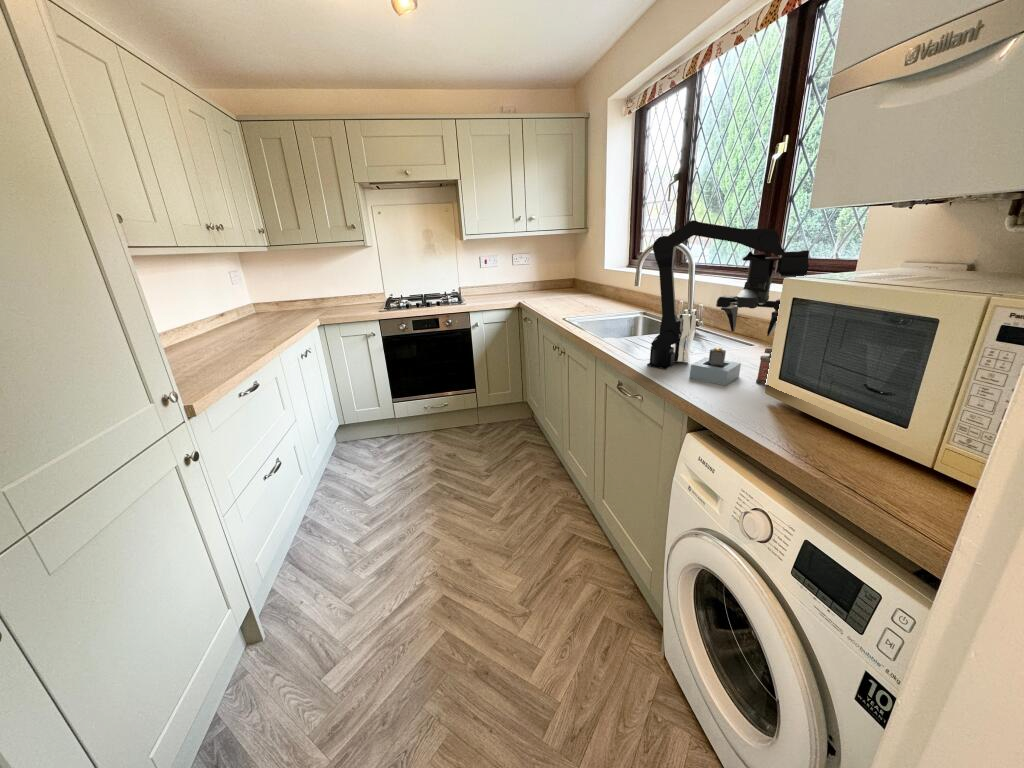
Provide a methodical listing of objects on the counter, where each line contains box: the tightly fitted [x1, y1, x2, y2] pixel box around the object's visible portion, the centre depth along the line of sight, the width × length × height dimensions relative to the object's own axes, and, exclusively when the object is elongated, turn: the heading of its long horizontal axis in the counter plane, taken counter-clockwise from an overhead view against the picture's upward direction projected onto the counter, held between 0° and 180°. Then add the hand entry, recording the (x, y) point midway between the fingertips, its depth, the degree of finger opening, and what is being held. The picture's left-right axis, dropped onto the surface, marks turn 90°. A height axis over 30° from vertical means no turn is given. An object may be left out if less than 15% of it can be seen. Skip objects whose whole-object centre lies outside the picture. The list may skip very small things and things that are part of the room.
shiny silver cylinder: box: [671, 313, 697, 363], centre depth 128 cm, size 7×7×15 cm
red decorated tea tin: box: [755, 347, 773, 386], centre depth 106 cm, size 8×3×10 cm, turn 57°
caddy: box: [689, 356, 742, 386], centre depth 114 cm, size 10×10×4 cm
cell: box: [708, 347, 727, 368], centre depth 113 cm, size 4×4×8 cm
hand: (750, 333), depth 113 cm, fingers open, 9 cm apart
